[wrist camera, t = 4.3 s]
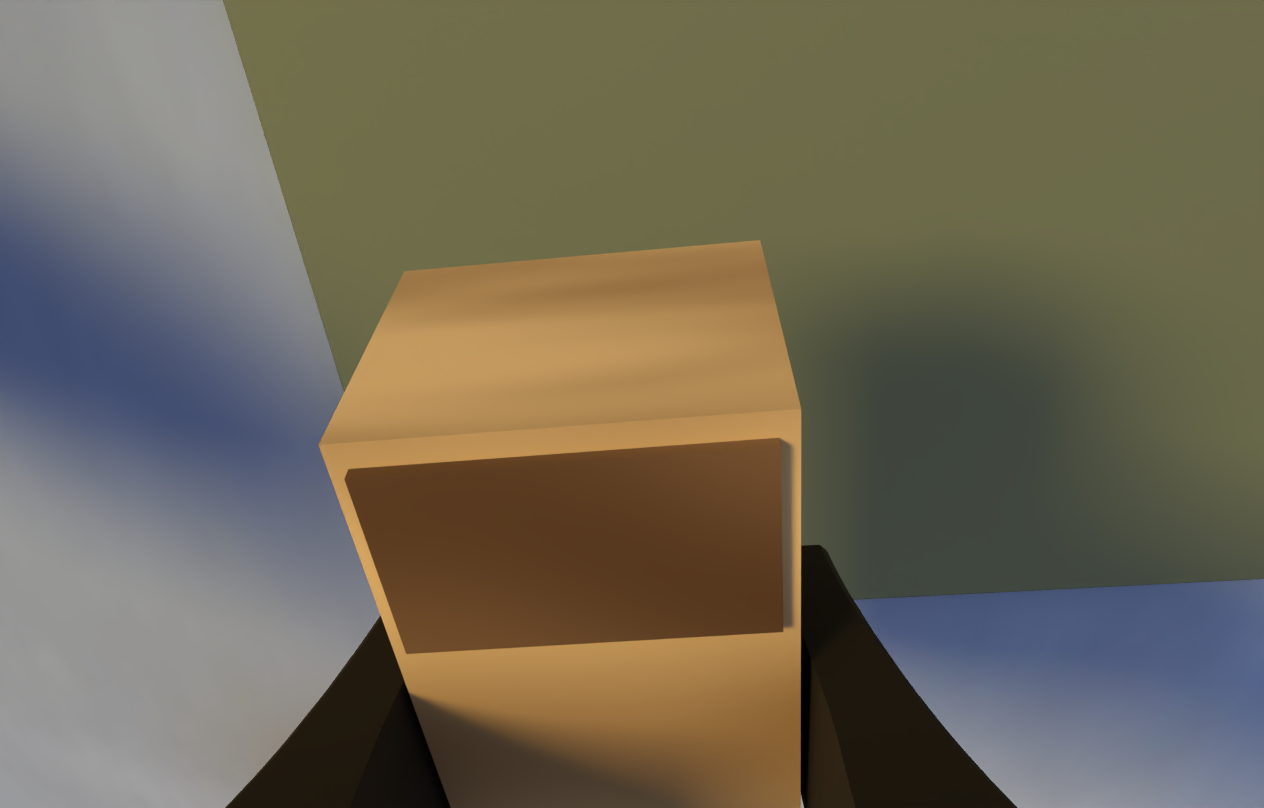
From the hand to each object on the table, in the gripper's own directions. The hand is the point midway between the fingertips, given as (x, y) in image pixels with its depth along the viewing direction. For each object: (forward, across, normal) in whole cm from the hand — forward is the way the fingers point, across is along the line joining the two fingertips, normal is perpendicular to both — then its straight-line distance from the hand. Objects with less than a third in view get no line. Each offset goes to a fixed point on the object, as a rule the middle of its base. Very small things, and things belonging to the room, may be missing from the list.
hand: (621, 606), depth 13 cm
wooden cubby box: (+1, 0, 0) cm, 1 cm away
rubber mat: (+8, -6, 0) cm, 10 cm away
